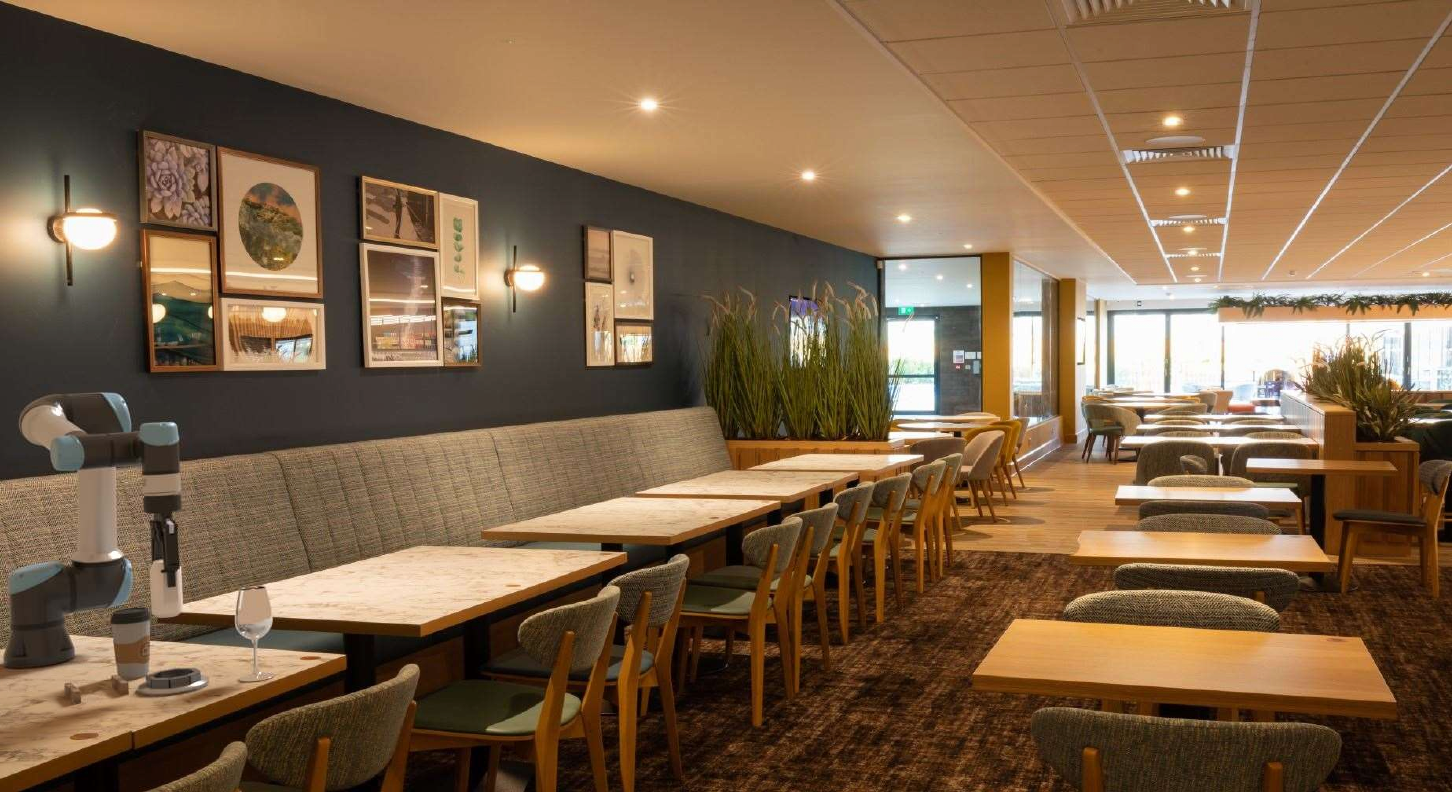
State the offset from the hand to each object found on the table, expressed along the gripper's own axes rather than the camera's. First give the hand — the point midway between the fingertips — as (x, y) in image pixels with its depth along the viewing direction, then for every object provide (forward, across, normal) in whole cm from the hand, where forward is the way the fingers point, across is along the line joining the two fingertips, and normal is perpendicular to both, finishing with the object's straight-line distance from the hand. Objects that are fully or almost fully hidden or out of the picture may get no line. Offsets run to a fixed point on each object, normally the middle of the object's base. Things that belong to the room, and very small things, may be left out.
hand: (167, 599), depth 266 cm
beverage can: (+4, 0, 0) cm, 4 cm away
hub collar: (+19, 0, 0) cm, 19 cm away
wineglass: (+19, +5, +17) cm, 26 cm away
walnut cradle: (+19, -6, -14) cm, 24 cm away
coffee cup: (+19, -18, -4) cm, 27 cm away
